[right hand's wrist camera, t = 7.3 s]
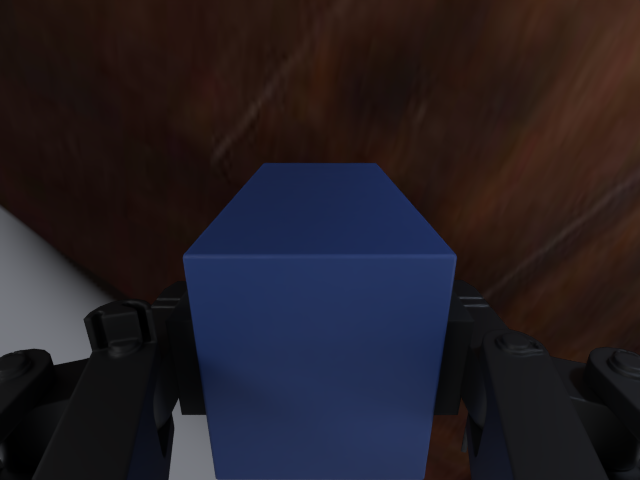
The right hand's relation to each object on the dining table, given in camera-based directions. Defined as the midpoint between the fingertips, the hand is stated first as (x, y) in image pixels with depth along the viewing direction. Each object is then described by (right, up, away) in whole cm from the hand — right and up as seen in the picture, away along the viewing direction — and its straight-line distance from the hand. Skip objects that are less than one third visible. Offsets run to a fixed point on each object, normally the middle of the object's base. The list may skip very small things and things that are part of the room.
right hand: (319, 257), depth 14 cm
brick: (0, +1, +4) cm, 4 cm away
